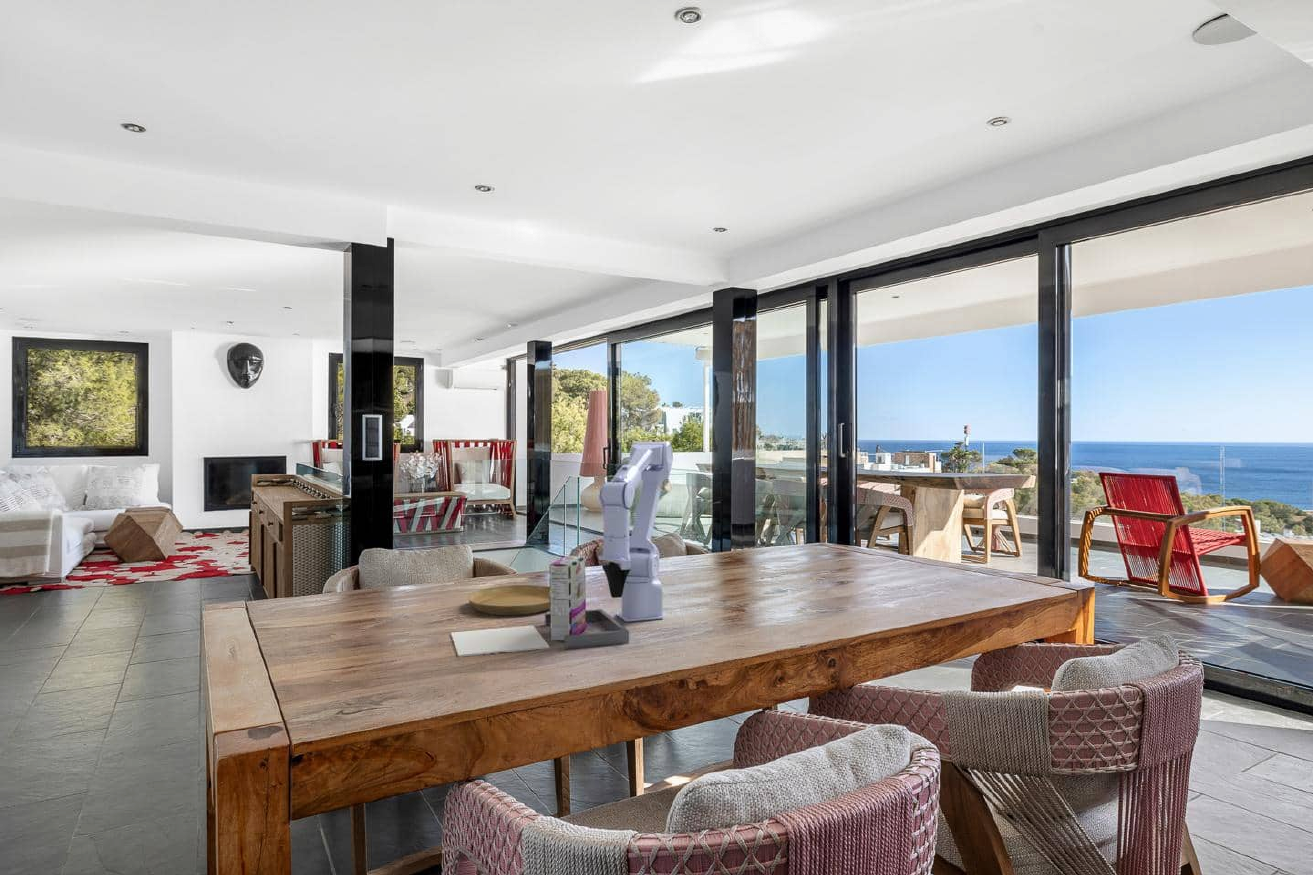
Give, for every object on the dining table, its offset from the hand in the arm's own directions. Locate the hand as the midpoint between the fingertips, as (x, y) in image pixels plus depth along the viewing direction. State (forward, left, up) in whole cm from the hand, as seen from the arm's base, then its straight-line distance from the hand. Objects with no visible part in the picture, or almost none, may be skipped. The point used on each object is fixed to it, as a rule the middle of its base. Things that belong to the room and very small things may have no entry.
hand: (616, 596), depth 167 cm
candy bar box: (+11, 0, -8) cm, 13 cm away
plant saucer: (+17, -32, -8) cm, 37 cm away
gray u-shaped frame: (+7, 0, -7) cm, 10 cm away
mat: (+26, 0, -7) cm, 27 cm away
